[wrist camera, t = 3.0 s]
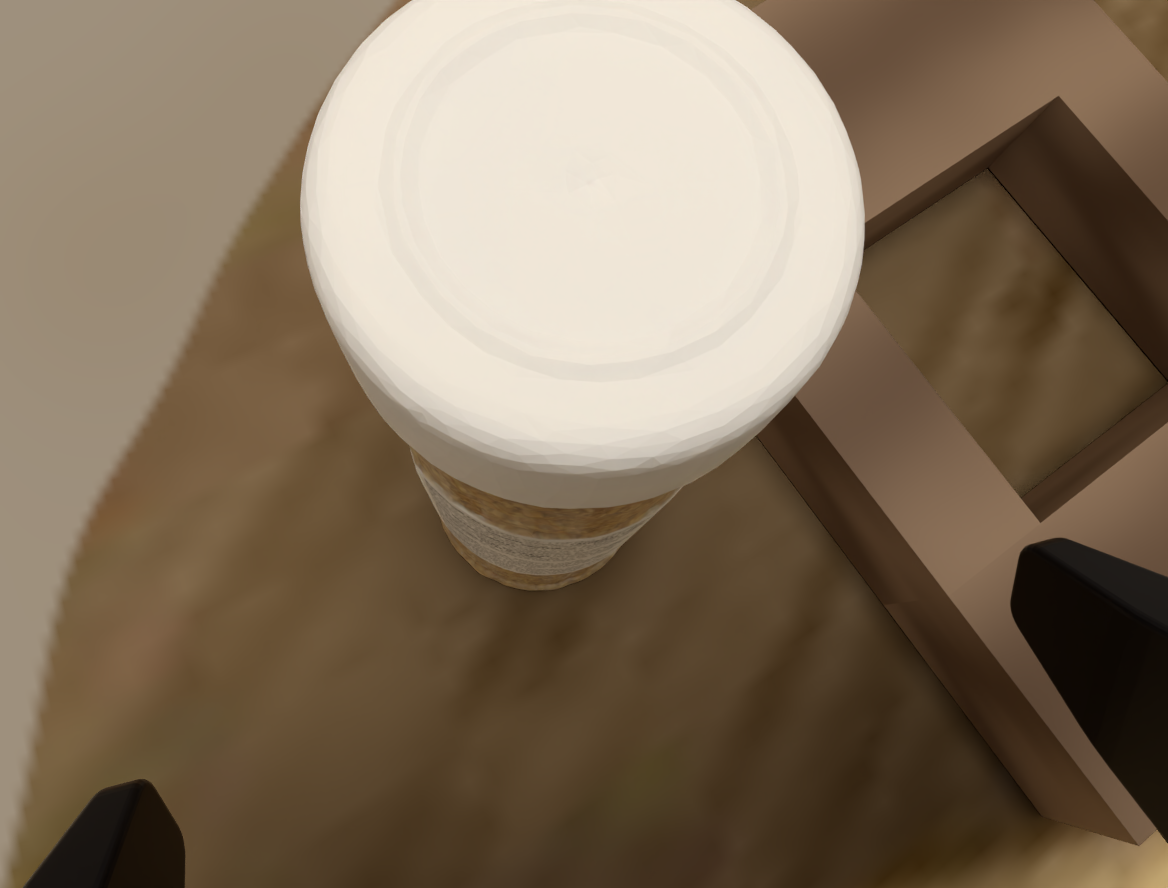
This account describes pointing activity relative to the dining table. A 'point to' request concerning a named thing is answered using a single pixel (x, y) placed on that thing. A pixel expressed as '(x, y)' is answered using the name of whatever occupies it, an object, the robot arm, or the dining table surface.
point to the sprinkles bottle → (577, 256)
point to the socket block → (911, 405)
